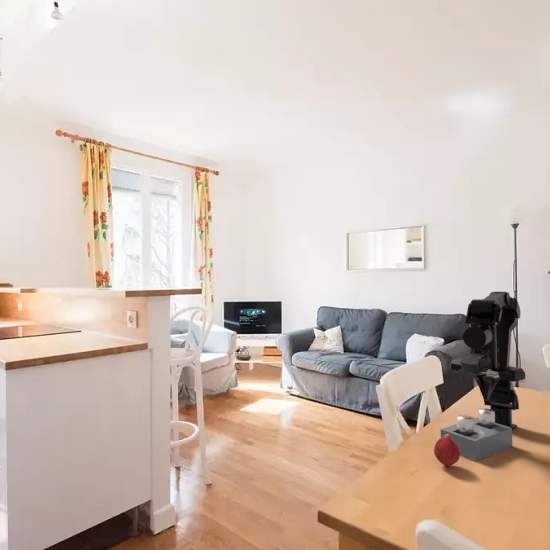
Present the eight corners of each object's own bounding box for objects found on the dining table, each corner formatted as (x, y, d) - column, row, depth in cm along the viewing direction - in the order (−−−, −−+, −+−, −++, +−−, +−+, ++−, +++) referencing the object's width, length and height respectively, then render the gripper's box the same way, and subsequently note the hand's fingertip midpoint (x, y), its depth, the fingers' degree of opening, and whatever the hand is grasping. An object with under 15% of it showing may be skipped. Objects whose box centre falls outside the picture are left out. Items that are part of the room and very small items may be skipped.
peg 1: (462, 431, 110) (462, 413, 110) (476, 435, 106) (476, 417, 107) (453, 434, 108) (453, 416, 108) (467, 438, 104) (467, 420, 104)
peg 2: (484, 423, 115) (483, 407, 115) (498, 428, 112) (497, 411, 112) (475, 426, 113) (475, 409, 113) (489, 431, 110) (489, 413, 110)
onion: (433, 469, 97) (432, 436, 97) (435, 459, 102) (435, 428, 102) (459, 474, 94) (458, 440, 95) (460, 464, 99) (460, 431, 100)
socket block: (477, 434, 118) (477, 417, 118) (512, 446, 110) (511, 427, 110) (440, 447, 110) (440, 429, 110) (475, 461, 101) (475, 441, 101)
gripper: (437, 342, 117) (438, 396, 116) (502, 351, 101) (503, 414, 100) (461, 339, 122) (462, 390, 122) (525, 347, 106) (527, 406, 106)
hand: (486, 399), depth 112 cm, fingers closed
